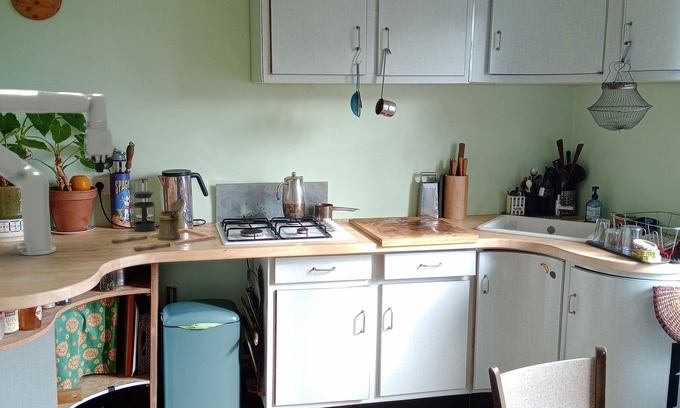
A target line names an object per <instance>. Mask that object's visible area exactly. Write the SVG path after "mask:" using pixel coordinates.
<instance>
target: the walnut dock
mask: <svg viewBox="0 0 680 408" xmlns="http://www.w3.org/2000/svg"><path fill="white" fill-rule="evenodd" d="M147 239H148V236H147V235H146V234H141V235H134V236H128V237H121V238H115V239H114V238H113V239H111V243H112V244H114V245H115V244H116V245H117V244H123V243H130V242H134V241H142V240H147ZM169 247H171V243H170V242H167V241H165V242H159V243H152V244H147V245H141V246H135V247H133V251H135V252H139V253H140V252H144V251H150V250H157V249H162V248H169Z"/></svg>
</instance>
